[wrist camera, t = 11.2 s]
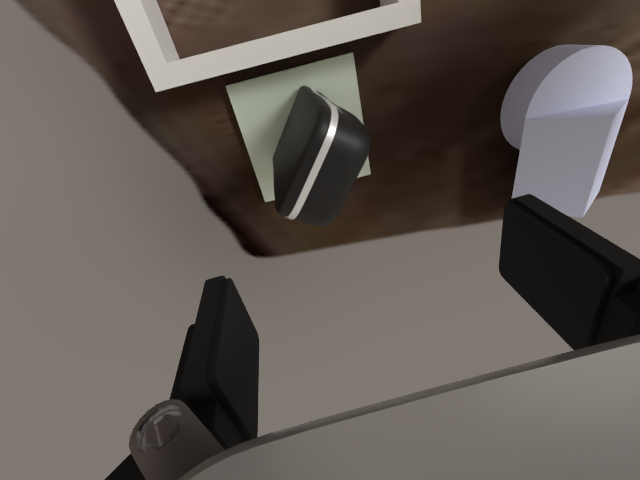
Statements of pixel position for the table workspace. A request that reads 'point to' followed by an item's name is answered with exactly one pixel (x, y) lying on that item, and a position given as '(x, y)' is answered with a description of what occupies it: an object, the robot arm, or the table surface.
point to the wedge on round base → (566, 122)
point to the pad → (288, 107)
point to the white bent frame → (172, 72)
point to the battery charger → (317, 158)
